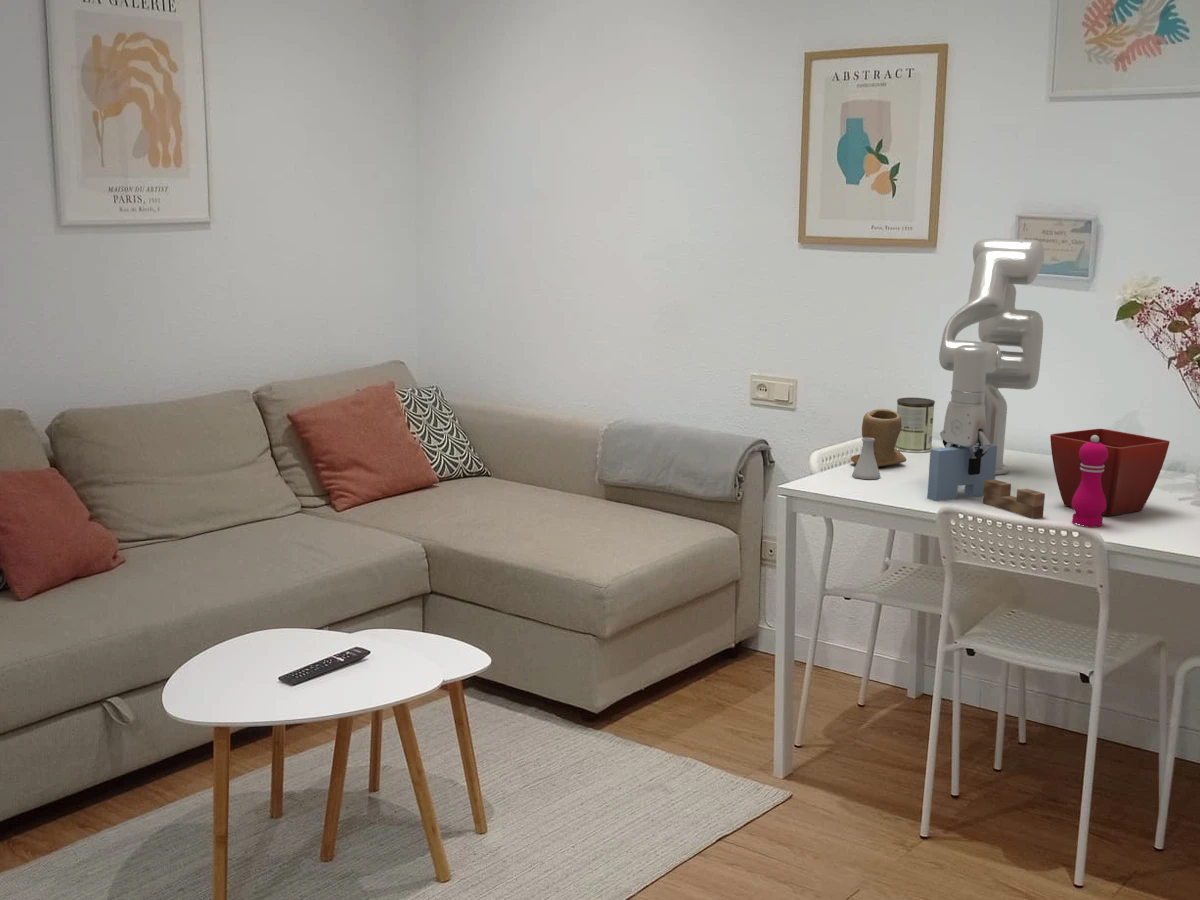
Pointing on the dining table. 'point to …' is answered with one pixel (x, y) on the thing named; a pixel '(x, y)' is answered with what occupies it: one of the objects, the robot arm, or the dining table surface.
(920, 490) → the dining table surface
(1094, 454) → the pepper mill
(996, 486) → the walnut u-shaped block
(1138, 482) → the plant pot
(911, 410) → the coffee can
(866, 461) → the flask
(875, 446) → the stone cup
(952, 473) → the blue notched block
